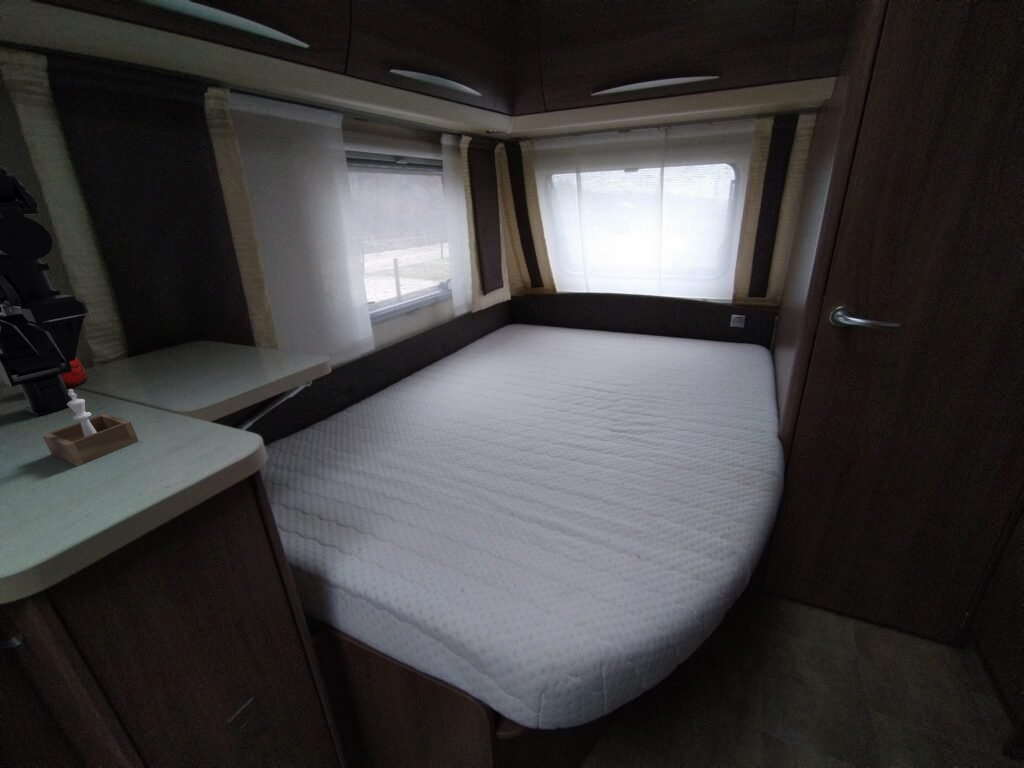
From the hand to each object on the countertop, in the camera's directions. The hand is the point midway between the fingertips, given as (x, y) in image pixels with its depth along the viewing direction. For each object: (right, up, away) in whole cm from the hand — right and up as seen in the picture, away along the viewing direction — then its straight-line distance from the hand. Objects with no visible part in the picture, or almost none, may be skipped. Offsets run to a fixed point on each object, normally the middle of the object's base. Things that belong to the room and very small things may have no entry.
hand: (57, 357), depth 72 cm
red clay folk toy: (-23, -5, +26) cm, 35 cm away
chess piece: (+8, -14, -1) cm, 16 cm away
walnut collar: (+8, -14, -1) cm, 16 cm away
